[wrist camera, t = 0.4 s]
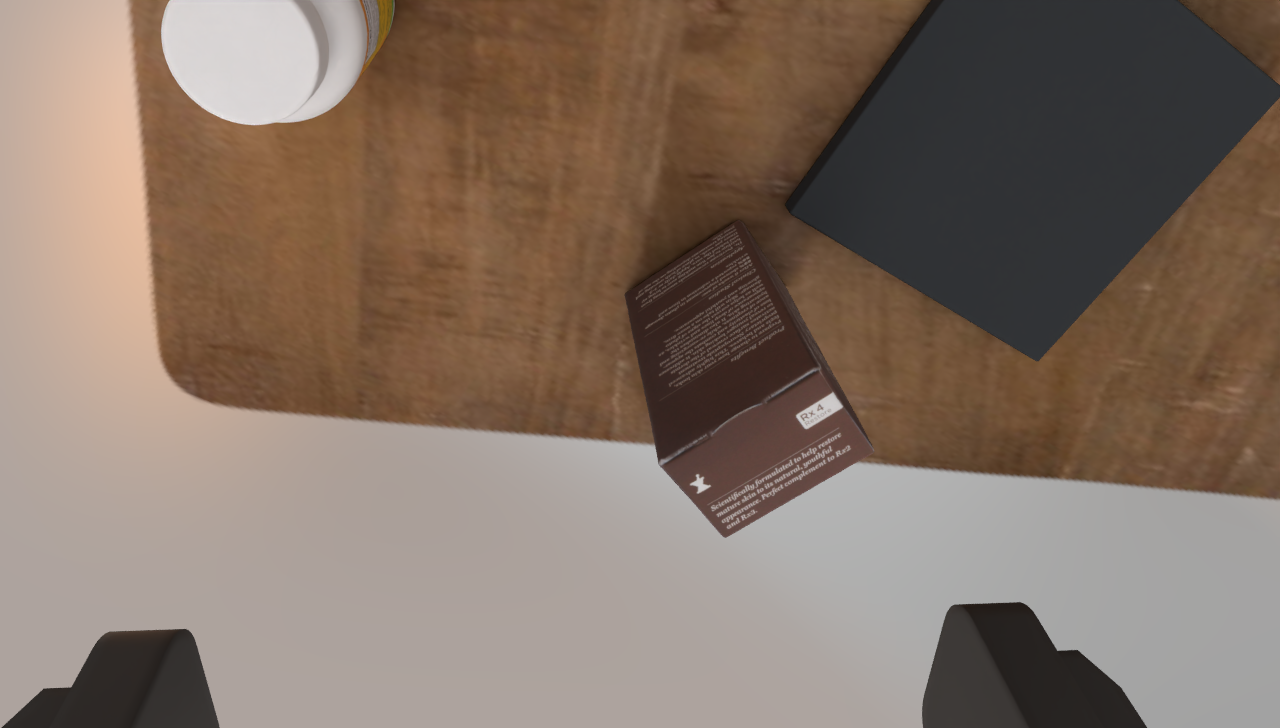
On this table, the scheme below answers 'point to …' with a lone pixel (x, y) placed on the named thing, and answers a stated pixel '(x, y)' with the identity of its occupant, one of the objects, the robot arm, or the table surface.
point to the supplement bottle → (272, 54)
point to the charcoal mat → (1030, 152)
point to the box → (737, 383)
